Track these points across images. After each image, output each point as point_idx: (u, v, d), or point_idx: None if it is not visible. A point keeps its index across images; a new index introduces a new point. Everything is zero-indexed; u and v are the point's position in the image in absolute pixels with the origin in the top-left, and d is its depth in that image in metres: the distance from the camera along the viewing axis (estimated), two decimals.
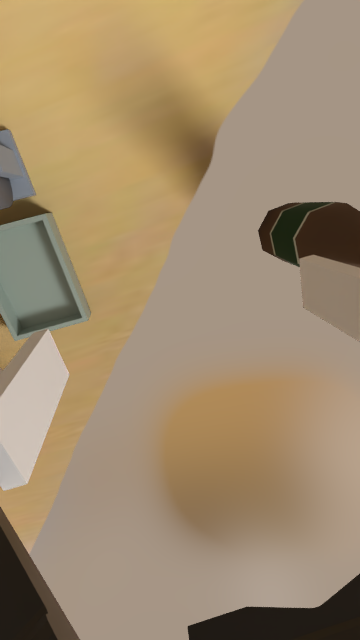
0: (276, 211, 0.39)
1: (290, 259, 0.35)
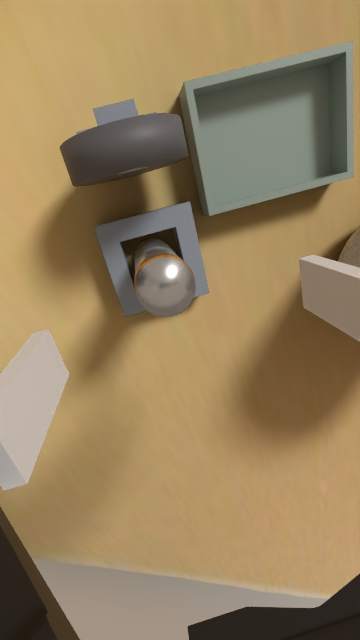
0: None
1: None
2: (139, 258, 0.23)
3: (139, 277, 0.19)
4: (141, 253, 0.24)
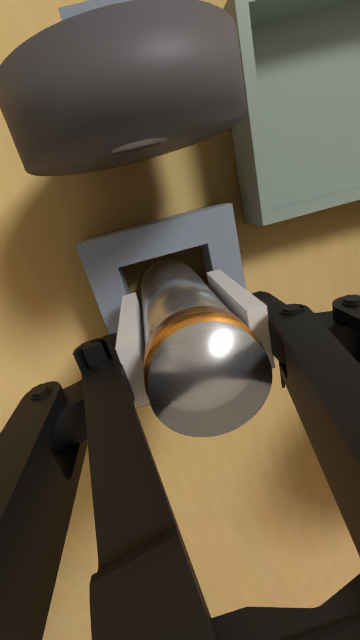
0: None
1: None
2: (151, 304, 0.13)
3: (155, 367, 0.09)
4: (154, 292, 0.14)
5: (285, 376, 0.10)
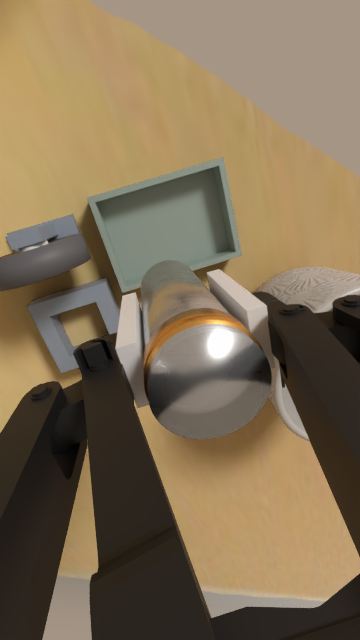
0: None
1: None
2: (151, 306, 0.13)
3: (155, 370, 0.09)
4: (154, 294, 0.14)
5: (285, 376, 0.10)
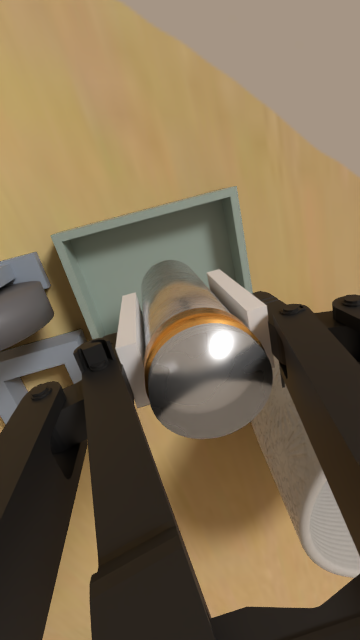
0: None
1: None
2: (151, 305, 0.13)
3: (156, 369, 0.09)
4: (154, 294, 0.14)
5: (285, 376, 0.10)
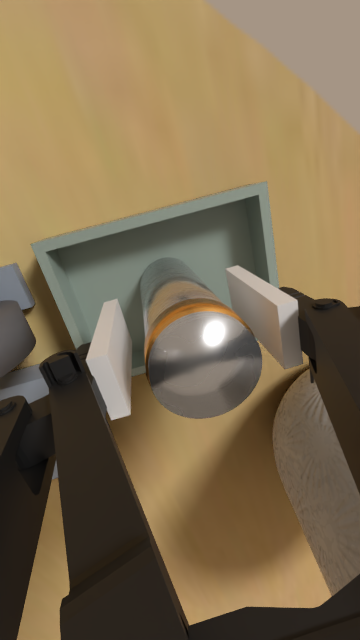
0: None
1: None
2: (151, 298, 0.14)
3: (156, 353, 0.10)
4: (153, 288, 0.15)
5: (314, 371, 0.10)
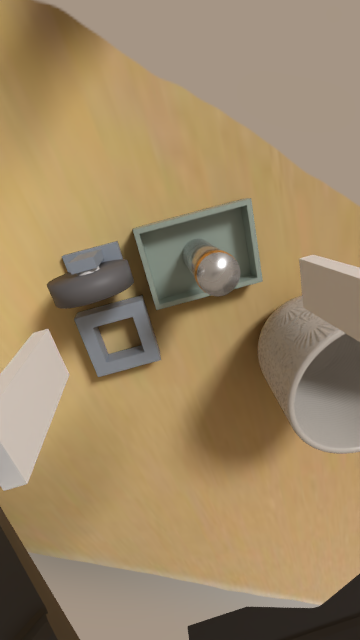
0: None
1: None
2: (194, 253, 0.31)
3: (200, 266, 0.27)
4: (194, 250, 0.32)
5: None
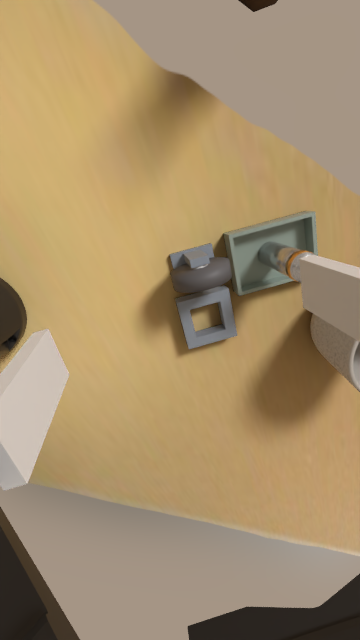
0: None
1: None
2: (280, 252, 0.43)
3: (295, 262, 0.38)
4: (278, 250, 0.44)
5: None
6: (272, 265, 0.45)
